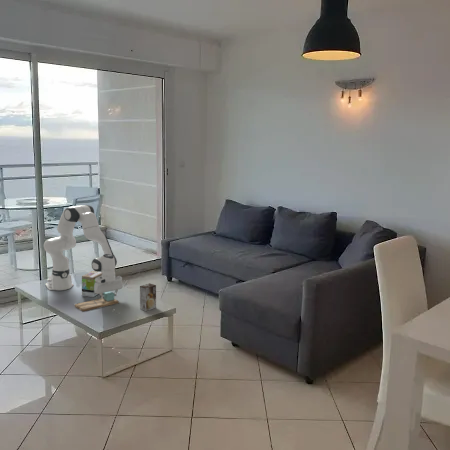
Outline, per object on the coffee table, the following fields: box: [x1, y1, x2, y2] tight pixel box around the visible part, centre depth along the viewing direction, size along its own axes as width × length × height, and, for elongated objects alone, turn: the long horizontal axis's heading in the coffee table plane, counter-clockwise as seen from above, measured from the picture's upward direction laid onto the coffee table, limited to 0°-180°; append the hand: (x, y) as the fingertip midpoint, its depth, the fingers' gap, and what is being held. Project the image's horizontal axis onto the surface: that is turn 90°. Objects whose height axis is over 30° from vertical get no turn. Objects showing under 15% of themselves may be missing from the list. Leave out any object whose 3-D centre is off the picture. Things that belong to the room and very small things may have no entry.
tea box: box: [81, 270, 102, 298], centre depth 330 cm, size 15×10×15 cm, turn 168°
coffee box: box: [139, 283, 157, 312], centre depth 303 cm, size 9×6×16 cm
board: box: [74, 297, 120, 312], centre depth 308 cm, size 12×26×2 cm, turn 134°
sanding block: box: [102, 291, 115, 302], centre depth 314 cm, size 6×5×5 cm
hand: (108, 297), depth 314 cm, fingers open, 8 cm apart
